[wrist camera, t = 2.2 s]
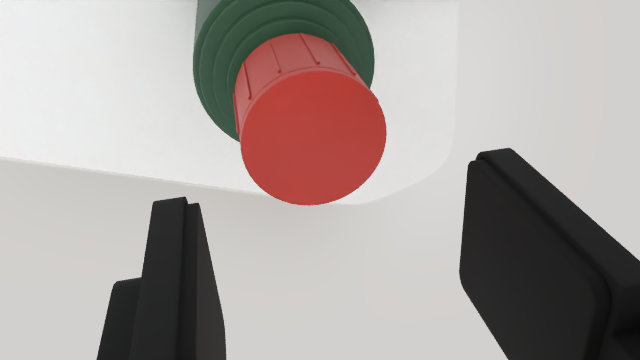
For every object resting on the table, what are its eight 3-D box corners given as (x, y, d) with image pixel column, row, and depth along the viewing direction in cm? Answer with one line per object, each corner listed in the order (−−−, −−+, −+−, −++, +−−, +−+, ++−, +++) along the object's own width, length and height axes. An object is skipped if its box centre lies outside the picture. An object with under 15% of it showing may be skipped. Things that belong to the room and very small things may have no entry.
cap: (345, 20, 16) (378, 55, 13) (360, 133, 18) (393, 187, 15) (220, 47, 16) (223, 90, 13) (250, 158, 18) (259, 220, 15)
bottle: (306, -71, 30) (434, -2, 13) (314, 44, 33) (425, 218, 16) (189, -61, 29) (163, 27, 12) (209, 56, 32) (210, 252, 15)
